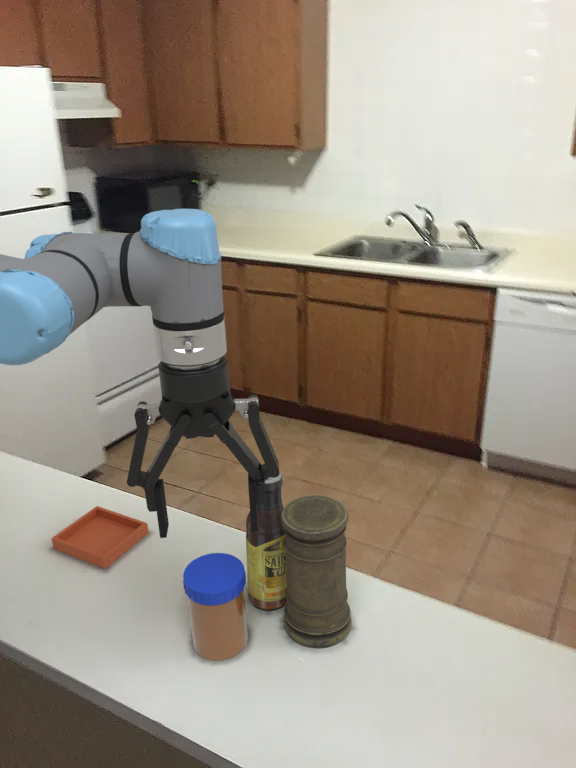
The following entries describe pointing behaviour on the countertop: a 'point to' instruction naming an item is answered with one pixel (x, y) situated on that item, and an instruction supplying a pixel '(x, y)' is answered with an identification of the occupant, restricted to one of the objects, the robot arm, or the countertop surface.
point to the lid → (214, 579)
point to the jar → (219, 628)
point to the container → (316, 571)
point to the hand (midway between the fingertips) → (209, 528)
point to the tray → (100, 536)
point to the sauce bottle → (267, 551)
